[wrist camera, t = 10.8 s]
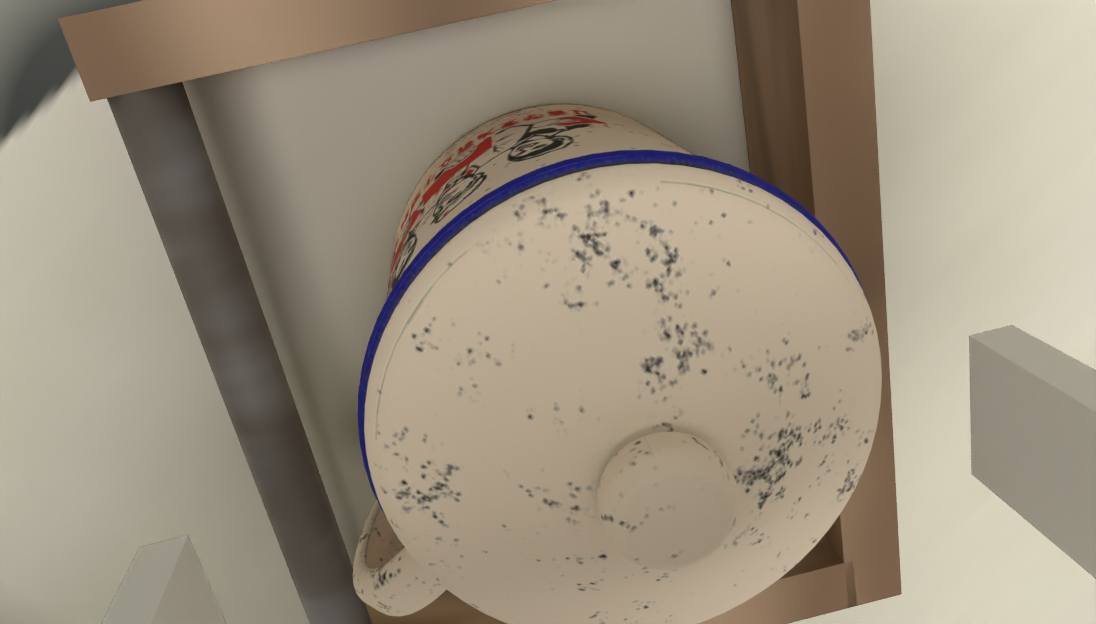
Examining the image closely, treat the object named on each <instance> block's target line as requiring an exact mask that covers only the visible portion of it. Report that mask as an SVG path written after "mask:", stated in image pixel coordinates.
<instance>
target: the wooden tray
mask: <svg viewBox="0 0 1096 624" xmlns="http://www.w3.org/2000/svg"><path fill="white" fill-rule="evenodd" d="M552 1H556V0H144V1H139V2H134V3H129V4H125V5H120V6H115V7H111V8H106V9H101V10H96V11H92V12H87V13H82V14H77V15H73V16H68V17H63V18H59V19H58V21H59V23H60V26H61V29H62V31H63V34H64V36H65V39H66V41H67V44H68V46H69V49H70V51H71V54H72V56H73V59H74V61H75V64H76V67H77V69H78V72H79V74H80V77H81V79H82V82H83V84H84V87H85V89H86V92H87V95H88V97H89V100H90V102H91V101H95V100H100V99H105V98H107V100H108V102H109V105H110V107H111V110H112V112H113V115H114V118H115V120H116V123H117V125H118V128H119V131H120V133H121V136H122V138H123V141H124V144H125V146H126V149H127V151H128V154H129V156H130V159H131V162H132V164H133V167H134V169H135V172H136V175H137V177H138V180H139V182H140V185H141V188H142V190H143V193H144V195H145V198H146V201H147V203H148V206H149V208H150V211H151V213H152V216H153V219H154V221H155V224H156V226H157V229H158V232H159V234H160V237H161V239H162V242H163V245H164V247H165V250H166V252H167V255H168V257H169V260H170V263H171V265H172V268H173V270H174V273H175V276H176V278H177V281H178V283H179V286H180V289H181V291H182V294H183V296H184V299H185V301H186V304H187V307H188V309H189V312H190V314H191V317H192V320H193V322H194V325H195V327H196V330H197V333H198V335H199V338H200V340H201V343H202V346H203V348H204V351H205V353H206V356H207V358H208V361H209V364H210V366H211V369H212V371H213V374H214V377H215V379H216V382H217V384H218V387H219V390H220V392H221V395H222V397H223V400H224V402H225V405H226V408H227V410H228V413H229V415H230V418H231V421H232V423H233V426H234V428H235V431H236V434H237V436H238V439H239V441H240V444H241V447H242V449H243V452H244V454H245V457H246V459H247V462H248V465H249V467H250V470H251V472H252V475H253V478H254V480H255V483H256V485H257V488H258V491H259V493H260V496H261V498H262V501H263V503H264V506H265V509H266V511H267V514H268V516H269V519H270V522H271V524H272V527H273V529H274V532H275V535H276V537H277V540H278V542H279V545H280V547H281V550H282V553H283V555H284V558H285V560H286V563H287V566H288V568H289V571H290V573H291V576H292V579H293V581H294V584H295V586H296V589H297V592H298V594H299V597H300V599H301V602H302V604H303V607H304V610H305V612H306V615H307V617H308V620H309V623H310V624H507V623H504V622H502V621H500V620H498V619H495V618H493V617H491V616H489V615H486V614H485V613H483V612H481V611H479V610H478V609H476V608H474V607H472V606H470V605H469V604H467V603H465V602H464V601H462V600H461V599H459V598H458V597H457V596H455V595H454V594H452V593H451V592H449V591H448V590H445V591H444V592H443V593H442V594H441V595H440V596H439V597H438V598H436V599H435V600H434V601H433V602H431V603H430V604H429V605H427V606H426V607H424V608H422V609H421V610H419V611H417V612H414V613H412V614H409V615H405V616H389V615H386V614H384V613H381V612H379V611H378V610H376V609H374V608H373V607H371V606H369V605H368V604H366V603H365V602H363V601H362V600H361V599H360V597H359V596H358V595H357V593H356V591H355V588H354V584H353V568H352V565H351V562H350V559H349V556H348V553H347V550H346V548H345V545H344V542H343V539H342V536H341V533H340V531H339V528H338V525H337V522H336V519H335V516H334V513H333V511H332V508H331V505H330V502H329V499H328V496H327V494H326V491H325V488H324V485H323V482H322V479H321V476H320V474H319V471H318V468H317V465H316V462H315V459H314V457H313V454H312V451H311V448H310V445H309V442H308V439H307V437H306V434H305V431H304V428H303V425H302V422H301V420H300V417H299V414H298V411H297V408H296V405H295V402H294V400H293V397H292V394H291V391H290V388H289V385H288V383H287V380H286V377H285V374H284V371H283V368H282V365H281V363H280V360H279V357H278V354H277V351H276V348H275V345H274V343H273V340H272V337H271V334H270V331H269V328H268V326H267V323H266V320H265V317H264V314H263V311H262V308H261V306H260V303H259V300H258V297H257V294H256V291H255V289H254V286H253V283H252V280H251V277H250V274H249V271H248V269H247V266H246V263H245V260H244V257H243V254H242V252H241V249H240V246H239V243H238V240H237V237H236V234H235V232H234V229H233V226H232V223H231V220H230V217H229V215H228V212H227V209H226V206H225V203H224V200H223V197H222V195H221V192H220V189H219V186H218V183H217V180H216V178H215V175H214V172H213V169H212V166H211V163H210V160H209V158H208V155H207V152H206V149H205V146H204V143H203V141H202V138H201V135H200V132H199V129H198V126H197V123H196V121H195V118H194V115H193V112H192V109H191V106H190V103H189V101H188V98H187V95H186V92H185V89H184V86H183V84H182V82H183V81H188V80H192V79H197V78H201V77H206V76H211V75H215V74H220V73H224V72H229V71H234V70H238V69H243V68H247V67H252V66H257V65H261V64H266V63H271V62H275V61H280V60H284V59H289V58H294V57H298V56H303V55H307V54H312V53H317V52H321V51H326V50H330V49H335V48H340V47H344V46H349V45H353V44H358V43H363V42H367V41H372V40H376V39H381V38H386V37H390V36H395V35H400V34H404V33H409V32H413V31H418V30H423V29H427V28H432V27H436V26H441V25H446V24H450V23H455V22H459V21H464V20H469V19H473V18H478V17H482V16H487V15H492V14H496V13H501V12H505V11H510V10H515V9H519V8H524V7H529V6H533V5H538V4H542V3H547V2H552ZM731 2H732V11H733V20H734V29H735V38H736V47H737V56H738V65H739V74H740V83H741V92H742V101H743V110H744V119H745V128H746V137H747V146H748V155H749V164H750V173H751V174H754V175H756V176H757V177H759V178H761V179H763V180H765V181H766V182H768V183H770V184H772V185H774V186H775V187H777V188H779V189H780V190H782V191H783V192H784V193H786V194H787V195H789V196H790V197H791V198H793V199H794V200H796V201H797V202H798V203H799V204H801V205H802V206H803V207H804V208H805V209H806V210H807V211H808V212H810V213H811V214H812V215H813V216H814V217H815V218H816V219H817V220H818V221H819V222H820V223H821V224H822V225H823V227H824V228H825V229H826V230H827V231H828V232H829V233H830V234H831V236H832V237H833V238H834V239H835V241H836V242H837V243H838V245H839V246H840V248H841V249H842V251H843V252H844V253H845V255H846V256H847V258H848V260H849V262H850V263H851V265H852V267H853V269H854V271H855V273H856V274H857V276H858V278H859V281H860V283H861V286H862V288H863V291H864V293H865V296H866V298H867V301H868V305H869V307H870V310H871V313H872V316H873V320H874V323H875V327H876V330H877V335H878V341H879V347H880V353H881V369H882V387H881V404H880V410H879V417H878V423H877V429H876V433H875V437H874V441H873V444H872V448H871V451H870V454H869V457H868V460H867V463H866V465H865V468H864V471H863V473H862V475H861V477H860V479H859V481H858V484H857V486H856V488H855V490H854V492H853V493H852V495H851V497H850V499H849V500H848V502H847V504H846V505H845V507H844V509H843V511H842V512H841V513H840V515H839V516H838V518H837V519H836V520H835V522H834V523H833V525H832V526H831V528H830V529H829V530H828V531H827V532H826V534H825V535H824V536H823V537H822V538H821V540H820V541H819V542H818V543H817V544H816V546H815V547H814V548H813V549H812V550H811V551H810V552H809V553H808V554H807V555H806V556H805V557H804V558H803V559H802V560H801V561H800V562H799V563H797V564H796V565H795V566H794V567H793V568H792V569H791V570H789V571H788V572H787V573H786V574H785V575H784V576H782V577H781V578H780V579H778V580H777V581H776V582H774V583H773V584H772V585H770V586H769V587H768V588H766V589H765V590H763V591H762V592H760V593H759V594H757V595H755V596H754V597H752V598H751V599H749V600H747V601H746V602H744V603H742V604H740V605H738V606H736V607H734V608H732V609H731V610H729V611H727V612H725V613H723V614H720V615H718V616H715V617H713V618H711V619H708V620H706V621H704V622H701V623H698V624H788V623H792V622H795V621H799V620H803V619H807V618H811V617H815V616H819V615H823V614H826V613H830V612H834V611H838V610H842V609H846V608H850V607H854V606H858V605H861V604H865V603H869V602H873V601H877V600H881V599H885V598H889V597H892V596H896V595H900V594H901V577H900V558H899V540H898V521H897V502H896V483H895V465H894V446H893V427H892V409H891V390H890V371H889V352H888V334H887V315H886V296H885V278H884V259H883V240H882V221H881V203H880V184H879V165H878V147H877V128H876V109H875V90H874V72H873V53H872V34H871V16H870V0H731Z"/></svg>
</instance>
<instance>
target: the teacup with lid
mask: <svg viewBox="0 0 1096 624" xmlns="http://www.w3.org/2000/svg"><path fill="white" fill-rule="evenodd" d="M881 387H882V369H881V353H880V347H879V341H878V335H877V330H876V327H875V323H874V320H873V316H872V313H871V310H870V307H869V305H868V301H867V298H866V296H865V293H864V291H863V288H862V286H861V283H860V281H859V278H858V276H857V274H856V273H855V271H854V269H853V267H852V265H851V263H850V262H849V260H848V258H847V256H846V255H845V253H844V252H843V251H842V249H841V248H840V246H839V245H838V243H837V242H836V241H835V239H834V238H833V237H832V236H831V234H830V233H829V232H828V231H827V230H826V229H825V228H824V227H823V225H822V224H821V223H820V222H819V221H818V220H817V219H816V218H815V217H814V216H813V215H812V214H811V213H810V212H808V211H807V210H806V209H805V208H804V207H803V206H802V205H801V204H799V203H798V202H797V201H796V200H794V199H793V198H791V197H790V196H789V195H787V194H786V193H784V192H783V191H782V190H780V189H779V188H777V187H775V186H774V185H772V184H770V183H768V182H766V181H765V180H763V179H761V178H759V177H757V176H756V175H754V174H751V173H749V172H746V171H744V170H742V169H739V168H737V167H734V166H732V165H730V164H726V163H723V162H719V161H716V160H713V159H709V158H706V157H702V156H696V155H693V154H691V153H690V152H688V151H686V150H685V149H683V148H681V147H680V146H678V145H676V144H675V143H673V142H671V141H670V140H668V139H666V138H665V137H663V136H661V135H660V134H658V133H657V132H655V131H653V130H652V129H650V128H648V127H646V126H644V125H643V124H641V123H639V122H637V121H635V120H633V119H631V118H628V117H626V116H623V115H621V114H618V113H615V112H612V111H608V110H605V109H600V108H595V107H590V106H582V105H570V104H569V105H546V106H538V107H532V108H527V109H523V110H518V111H515V112H512V113H509V114H506V115H503V116H500V117H498V118H496V119H494V120H491V121H489V122H487V123H485V124H483V125H481V126H479V127H478V128H476V129H474V130H472V131H471V132H469V133H468V134H466V135H465V136H464V137H462V138H461V139H459V140H458V141H457V142H455V143H454V144H453V145H452V146H451V147H450V148H448V149H447V150H446V151H445V152H444V153H443V154H442V155H441V156H440V157H439V158H438V159H437V160H436V161H435V162H434V163H433V164H432V166H431V167H430V168H429V169H428V171H427V172H426V173H425V175H424V176H423V177H422V178H421V180H420V182H419V183H418V185H417V186H416V188H415V190H414V191H413V193H412V195H411V197H410V199H409V201H408V203H407V205H406V207H405V209H404V212H403V215H402V217H401V220H400V223H399V226H398V230H397V234H396V238H395V243H394V250H393V257H392V264H391V272H390V279H389V286H388V293H387V300H386V302H385V304H384V306H383V308H382V310H381V312H380V314H379V316H378V318H377V321H376V324H375V326H374V329H373V332H372V334H371V337H370V340H369V343H368V346H367V350H366V354H365V358H364V362H363V366H362V371H361V379H360V386H359V393H358V426H359V438H360V446H361V451H362V456H363V461H364V466H365V469H366V472H367V475H368V478H369V481H370V485H371V488H372V490H373V492H374V495H375V497H376V500H375V502H374V504H373V506H372V508H371V510H370V512H369V515H368V517H367V519H366V522H365V524H364V527H363V530H362V532H361V535H360V538H359V542H358V545H357V549H356V553H355V558H354V564H353V584H354V588H355V591H356V593H357V595H358V596H359V597H360V599H361V600H362V601H363V602H365V603H366V604H368V605H369V606H371V607H373V608H374V609H376V610H378V611H379V612H381V613H384V614H386V615H389V616H405V615H409V614H412V613H414V612H417V611H419V610H421V609H422V608H424V607H426V606H427V605H429V604H430V603H431V602H433V601H434V600H435V599H436V598H438V597H439V596H440V595H441V594H442V593H443V592H444V591H445V590H448V591H449V592H451V593H452V594H454V595H455V596H457V597H458V598H459V599H461V600H462V601H464V602H465V603H467V604H469V605H470V606H472V607H474V608H476V609H478V610H479V611H481V612H483V613H485V614H486V615H489V616H491V617H493V618H495V619H498V620H500V621H502V622H504V623H507V624H698V623H701V622H704V621H706V620H708V619H711V618H713V617H715V616H718V615H720V614H723V613H725V612H727V611H729V610H731V609H732V608H734V607H736V606H738V605H740V604H742V603H744V602H746V601H747V600H749V599H751V598H752V597H754V596H755V595H757V594H759V593H760V592H762V591H763V590H765V589H766V588H768V587H769V586H770V585H772V584H773V583H774V582H776V581H777V580H778V579H780V578H781V577H782V576H784V575H785V574H786V573H787V572H788V571H789V570H791V569H792V568H793V567H794V566H795V565H796V564H797V563H799V562H800V561H801V560H802V559H803V558H804V557H805V556H806V555H807V554H808V553H809V552H810V551H811V550H812V549H813V548H814V547H815V546H816V544H817V543H818V542H819V541H820V540H821V538H822V537H823V536H824V535H825V534H826V532H827V531H828V530H829V529H830V528H831V526H832V525H833V523H834V522H835V520H836V519H837V518H838V516H839V515H840V513H841V512H842V511H843V509H844V507H845V505H846V504H847V502H848V500H849V499H850V497H851V495H852V493H853V492H854V490H855V488H856V486H857V484H858V481H859V479H860V477H861V475H862V473H863V471H864V468H865V465H866V463H867V460H868V457H869V454H870V451H871V448H872V444H873V441H874V437H875V433H876V429H877V423H878V417H879V410H880V404H881Z"/></svg>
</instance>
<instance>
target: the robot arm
mask: <svg viewBox="0 0 1096 624" xmlns="http://www.w3.org/2000/svg"><path fill="white" fill-rule="evenodd" d="M969 353H970V412H971V471H972V475H973V476H975V477H976V478H977V479H978V480H979V481H980V482H982V483H983V484H984V485H985V486H986V487H988V488H989V489H990V490H991V491H992V492H993V493H995V494H996V495H997V496H998V497H999V498H1001V499H1002V500H1003V501H1004V502H1005V503H1007V504H1008V505H1009V506H1010V507H1011V508H1012V509H1014V510H1015V511H1016V512H1017V513H1018V514H1020V515H1021V516H1022V517H1023V518H1024V519H1025V520H1027V521H1028V522H1029V523H1030V524H1031V525H1033V526H1034V527H1035V528H1036V529H1037V530H1039V531H1040V532H1041V533H1042V534H1043V535H1044V536H1046V537H1047V538H1048V539H1049V540H1050V541H1052V542H1053V543H1054V544H1055V545H1056V546H1057V547H1059V548H1060V549H1061V550H1062V551H1063V552H1065V553H1066V554H1067V555H1068V556H1069V557H1071V558H1072V559H1073V560H1074V561H1075V562H1076V563H1078V564H1079V565H1080V566H1081V567H1082V568H1084V569H1085V570H1086V571H1087V572H1088V573H1089V574H1091V575H1092V576H1093V577H1094V578H1095V579H1096V370H1094V369H1093V368H1091V367H1089V366H1087V365H1085V364H1083V363H1081V362H1080V361H1078V360H1076V359H1074V358H1072V357H1070V356H1068V355H1067V354H1065V353H1063V352H1061V351H1059V350H1057V349H1055V348H1054V347H1052V346H1050V345H1048V344H1046V343H1044V342H1042V341H1041V340H1039V339H1037V338H1035V337H1033V336H1031V335H1029V334H1028V333H1026V332H1024V331H1022V330H1020V329H1018V328H1016V327H1015V326H1013V325H1010V326H1006V327H1002V328H998V329H994V330H990V331H986V332H982V333H978V334H974V335H970V336H969ZM101 624H226V621H225V619H224V617H223V615H222V612H221V610H220V608H219V605H218V603H217V601H216V598H215V596H214V594H213V591H212V589H211V587H210V584H209V582H208V580H207V577H206V575H205V573H204V570H203V568H202V566H201V563H200V561H199V559H198V556H197V554H196V552H195V549H194V547H193V545H192V542H191V540H190V538H189V535H185V536H181V537H177V538H173V539H169V540H166V541H162V542H158V543H154V544H150V545H146V546H142V547H139V549H138V551H137V553H136V555H135V557H134V559H133V561H132V563H131V565H130V567H129V569H128V571H127V573H126V575H125V577H124V579H123V581H122V583H121V585H120V587H119V589H118V591H117V593H116V595H115V597H114V599H113V601H112V603H111V605H110V607H109V609H108V611H107V613H106V615H105V617H104V619H103V621H102V623H101Z"/></svg>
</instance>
